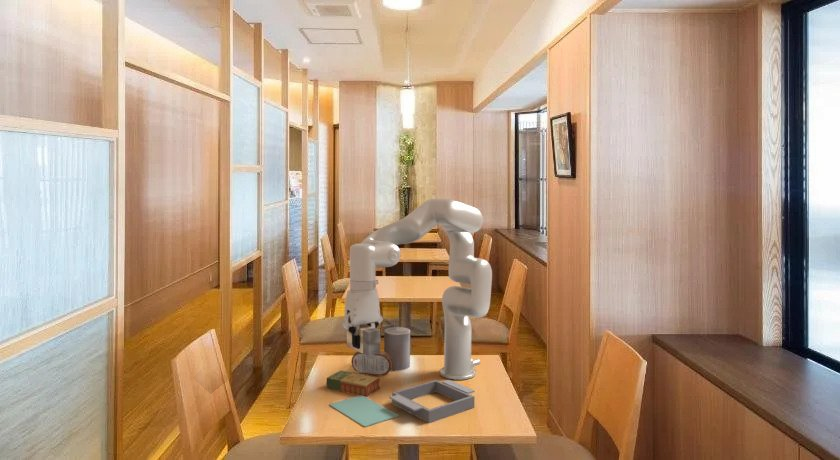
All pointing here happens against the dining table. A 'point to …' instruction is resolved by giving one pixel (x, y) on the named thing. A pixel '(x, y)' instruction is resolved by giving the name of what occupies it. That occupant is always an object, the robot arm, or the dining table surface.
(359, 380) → the carton
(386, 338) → the pillar candle
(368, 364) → the tin
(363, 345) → the block
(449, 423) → the dining table surface
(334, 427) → the dining table surface
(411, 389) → the open square frame
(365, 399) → the mat
